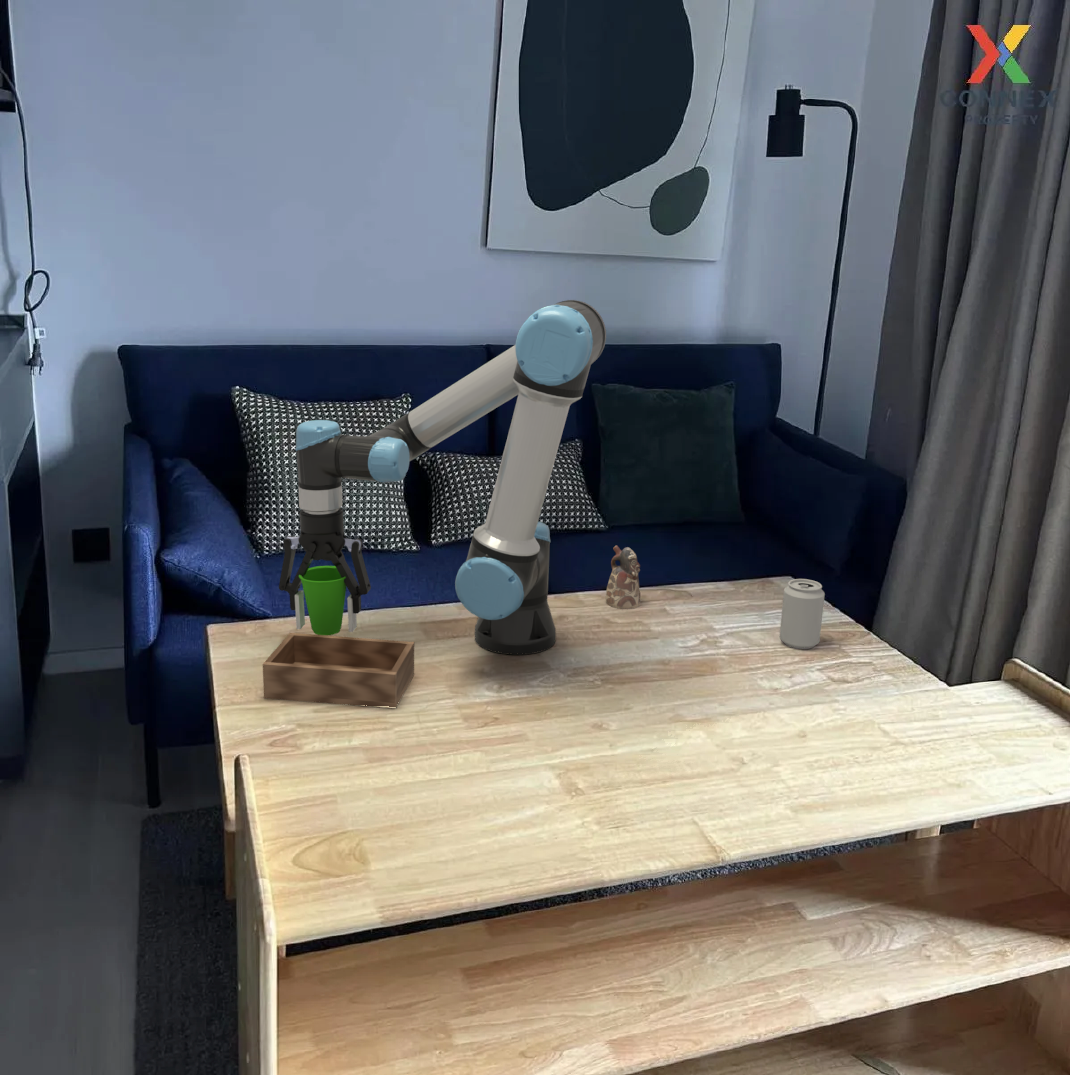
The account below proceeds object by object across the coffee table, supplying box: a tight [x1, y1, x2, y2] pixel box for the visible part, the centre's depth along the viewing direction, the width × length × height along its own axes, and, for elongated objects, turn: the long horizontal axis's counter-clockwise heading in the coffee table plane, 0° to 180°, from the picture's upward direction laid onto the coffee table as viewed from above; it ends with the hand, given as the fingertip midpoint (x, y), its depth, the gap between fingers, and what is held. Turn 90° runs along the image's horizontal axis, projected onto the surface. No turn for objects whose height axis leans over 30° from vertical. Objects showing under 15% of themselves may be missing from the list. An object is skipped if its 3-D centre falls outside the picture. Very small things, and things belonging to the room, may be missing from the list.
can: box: [778, 578, 826, 650], centre depth 222 cm, size 8×8×12 cm
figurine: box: [605, 545, 641, 610], centre depth 240 cm, size 7×7×12 cm
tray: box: [262, 632, 415, 708], centre depth 198 cm, size 22×14×6 cm, turn 83°
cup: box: [299, 565, 347, 636], centre depth 213 cm, size 9×9×11 cm
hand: (326, 627), depth 215 cm, fingers closed on cup, 9 cm apart
